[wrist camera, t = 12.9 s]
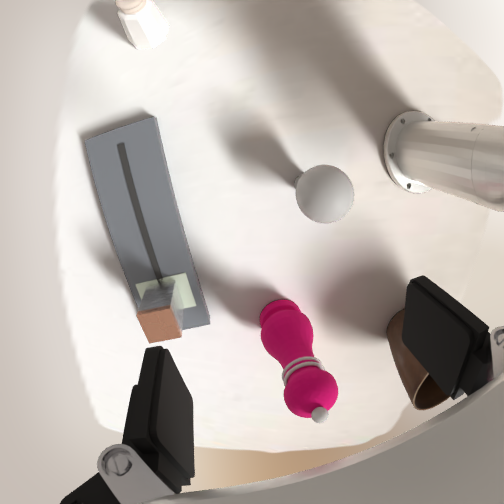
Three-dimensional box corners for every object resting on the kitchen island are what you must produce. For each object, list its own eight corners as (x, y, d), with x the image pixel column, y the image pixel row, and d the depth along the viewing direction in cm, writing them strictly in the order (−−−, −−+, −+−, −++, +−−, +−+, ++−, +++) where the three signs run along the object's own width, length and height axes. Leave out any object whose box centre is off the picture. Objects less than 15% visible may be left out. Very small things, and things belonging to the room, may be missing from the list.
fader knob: (175, 280, 36) (169, 308, 30) (184, 306, 38) (181, 337, 32) (146, 286, 36) (136, 315, 30) (156, 312, 38) (149, 343, 31)
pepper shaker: (125, 24, 26) (98, -12, 15) (165, 10, 26) (152, -32, 16) (132, 56, 28) (105, 27, 18) (174, 42, 28) (162, 6, 18)
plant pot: (434, 277, 46) (491, 321, 32) (429, 335, 52) (472, 382, 37) (367, 307, 46) (419, 368, 31) (370, 365, 52) (408, 423, 37)
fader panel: (156, 118, 31) (153, 116, 29) (209, 316, 42) (210, 324, 40) (90, 140, 31) (84, 140, 29) (152, 328, 41) (150, 336, 39)
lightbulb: (309, 213, 39) (344, 240, 28) (270, 192, 37) (294, 213, 27) (331, 174, 37) (374, 188, 27) (293, 150, 35) (326, 155, 25)
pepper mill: (249, 330, 44) (276, 439, 25) (266, 290, 42) (308, 396, 23) (291, 339, 46) (333, 439, 27) (310, 301, 44) (368, 398, 25)
